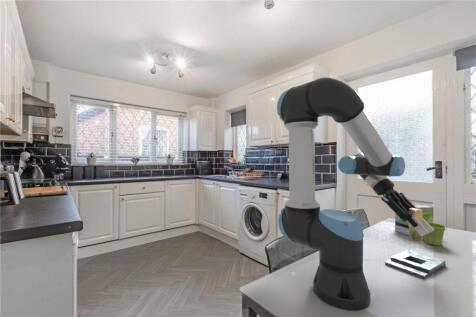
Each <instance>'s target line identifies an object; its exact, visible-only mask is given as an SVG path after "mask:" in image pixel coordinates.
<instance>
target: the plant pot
mask: <svg viewBox="0 0 476 317" xmlns="http://www.w3.org/2000/svg"><path fill="white" fill-rule="evenodd" d="M427 223H428V224H429V225H430V226H431V227H432V228H433V229H434V231H432V232H431V233H429V234H425V235H424V236H423V239H424V242H425V243H426V244H428V245H433V246H441V245H442V244H443V240H444V233H445V232H446V229H447V226H446V225H443V224H441V223H438V222H437V223H436V222H433V223H430V222H427Z"/></svg>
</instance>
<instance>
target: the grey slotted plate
mask: <svg viewBox="0 0 476 317" xmlns="http://www.w3.org/2000/svg"><path fill="white" fill-rule="evenodd" d="M410 258H411V259H414V260H417V261H420V262H423V264H418V263H415V262H412V261H408V260H407V259H410ZM390 260H394V261H396V262H399V263H402V264H405V265H408V266H411V267H414V268H417V269H419V270H422V271H425V272H428V273H430V272H432V271H434V270H435V269H437V268H439V267H441V269H440V270H442V269H443V268H445V267H446V265H447V264H446V263H447V262H446V261H447V260H445V259H441V258H438V257H435V256H431V255H428V254H424V253H421V252H417V251H414V250H410V249H407V250H403V251H401V252H399V253H396V254H395V255H392V256H390Z"/></svg>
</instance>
